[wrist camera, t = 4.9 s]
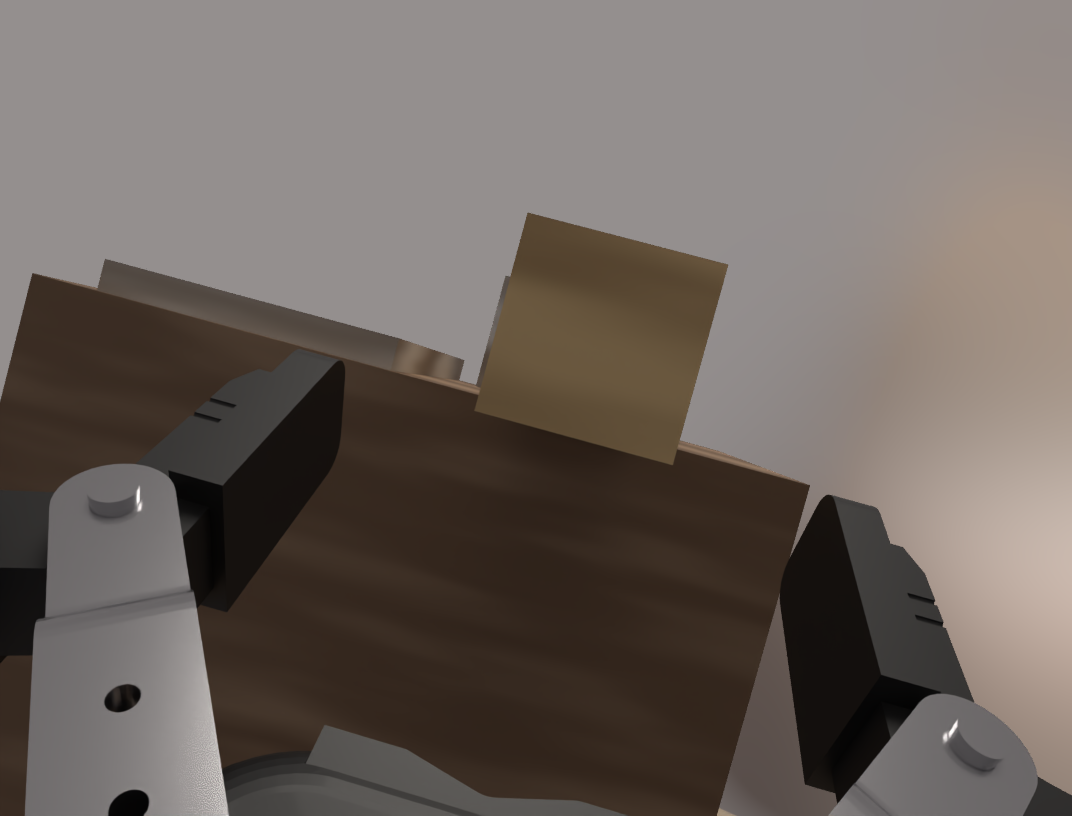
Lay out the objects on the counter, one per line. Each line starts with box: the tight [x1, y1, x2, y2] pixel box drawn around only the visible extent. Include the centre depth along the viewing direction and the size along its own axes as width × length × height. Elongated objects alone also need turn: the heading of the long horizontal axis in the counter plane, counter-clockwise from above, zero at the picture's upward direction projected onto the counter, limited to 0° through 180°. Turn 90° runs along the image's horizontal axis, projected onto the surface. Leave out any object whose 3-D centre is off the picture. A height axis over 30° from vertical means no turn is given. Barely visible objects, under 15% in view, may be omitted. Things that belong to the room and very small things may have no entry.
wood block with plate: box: [474, 213, 728, 465], centre depth 24 cm, size 22×9×5 cm, turn 177°
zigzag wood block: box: [0, 259, 810, 816], centre depth 29 cm, size 14×24×33 cm, turn 87°
